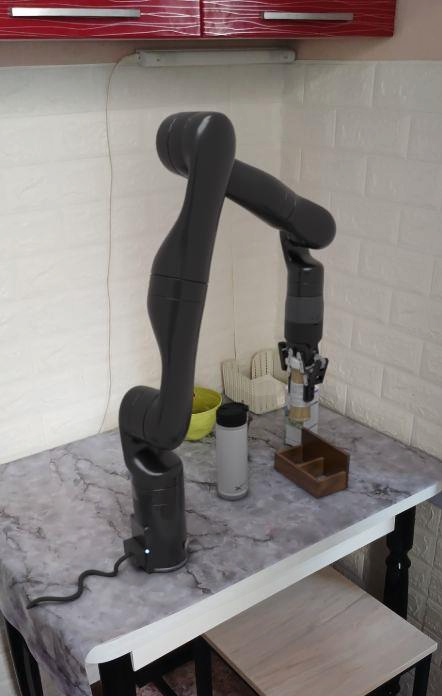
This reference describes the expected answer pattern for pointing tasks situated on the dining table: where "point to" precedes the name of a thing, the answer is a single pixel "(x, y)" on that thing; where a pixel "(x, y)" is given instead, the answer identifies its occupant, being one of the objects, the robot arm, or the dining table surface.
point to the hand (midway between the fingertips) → (300, 396)
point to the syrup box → (295, 428)
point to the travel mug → (232, 450)
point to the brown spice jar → (298, 394)
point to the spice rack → (314, 465)
